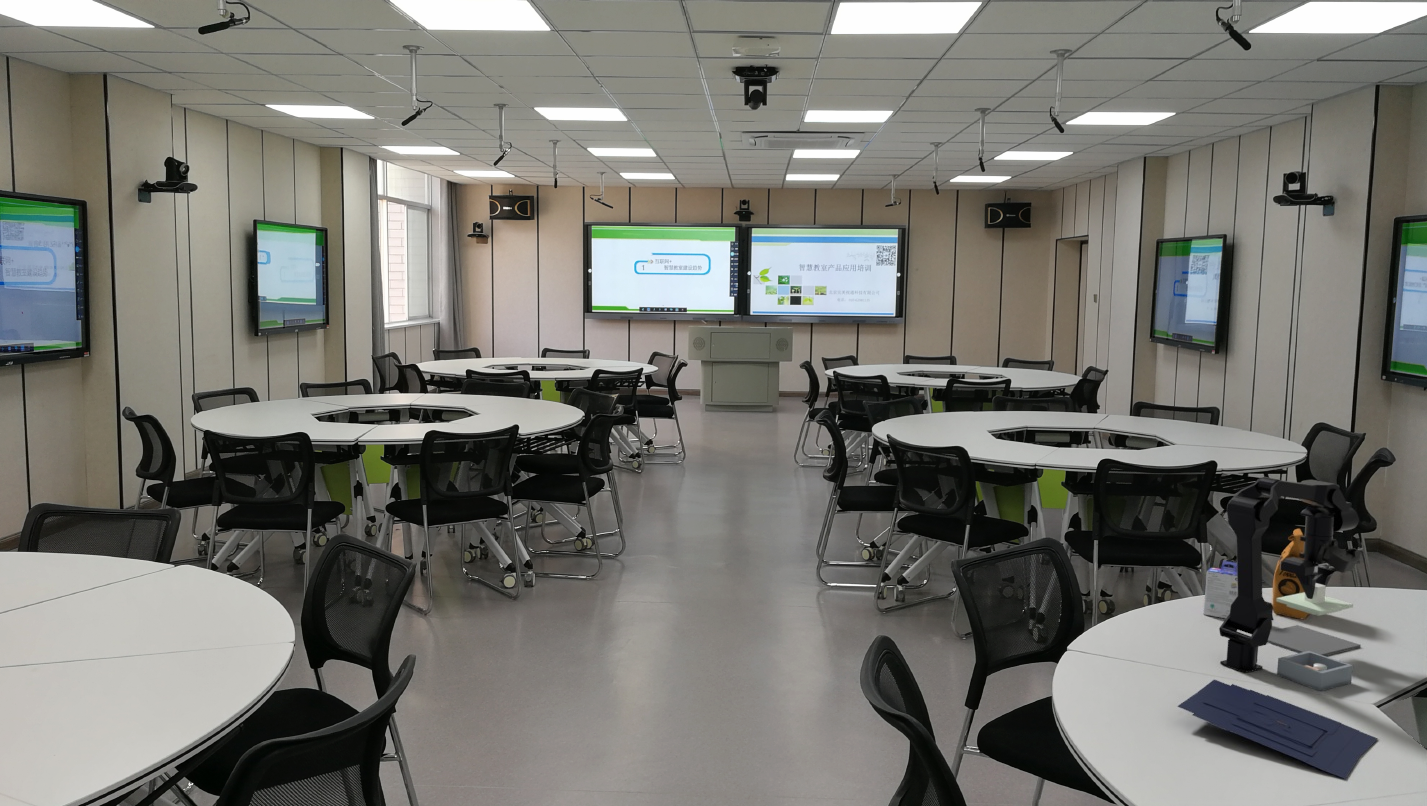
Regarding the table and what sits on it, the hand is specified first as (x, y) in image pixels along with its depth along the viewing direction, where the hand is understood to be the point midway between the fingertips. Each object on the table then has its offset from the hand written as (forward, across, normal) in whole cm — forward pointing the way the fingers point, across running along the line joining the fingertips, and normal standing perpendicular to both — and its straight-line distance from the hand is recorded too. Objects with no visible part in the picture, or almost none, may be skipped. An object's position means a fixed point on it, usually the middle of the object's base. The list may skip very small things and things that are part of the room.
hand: (1314, 597), depth 242 cm
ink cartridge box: (+14, +5, +27) cm, 31 cm away
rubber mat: (+14, +6, +5) cm, 16 cm away
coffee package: (+14, +25, +22) cm, 37 cm away
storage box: (+13, -16, -12) cm, 24 cm away
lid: (+3, 0, 0) cm, 3 cm away
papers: (+13, -51, -26) cm, 59 cm away
